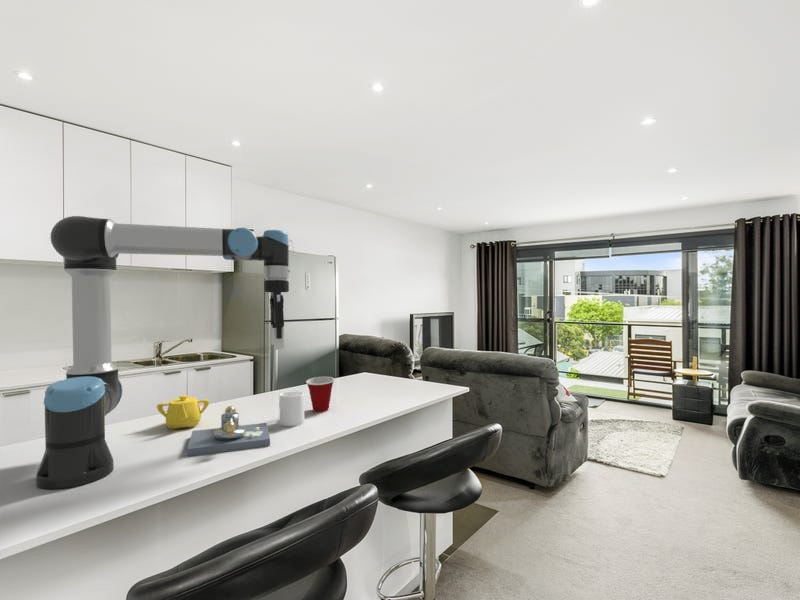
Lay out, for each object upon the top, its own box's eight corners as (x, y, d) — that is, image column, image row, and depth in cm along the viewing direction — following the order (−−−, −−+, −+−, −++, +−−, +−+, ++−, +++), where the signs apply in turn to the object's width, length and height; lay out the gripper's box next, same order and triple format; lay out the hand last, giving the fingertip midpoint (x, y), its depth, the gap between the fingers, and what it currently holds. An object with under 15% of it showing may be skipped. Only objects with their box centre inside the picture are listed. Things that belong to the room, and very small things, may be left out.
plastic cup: (300, 411, 161) (299, 380, 161) (318, 405, 170) (318, 375, 170) (322, 415, 156) (322, 383, 156) (340, 408, 165) (340, 377, 165)
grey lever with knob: (215, 425, 136) (215, 406, 136) (245, 422, 140) (245, 403, 140) (212, 447, 117) (211, 425, 117) (246, 443, 120) (246, 421, 120)
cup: (288, 428, 141) (287, 398, 141) (269, 421, 149) (269, 392, 149) (309, 422, 147) (308, 393, 147) (290, 416, 155) (289, 388, 155)
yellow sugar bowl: (214, 423, 147) (214, 393, 147) (180, 434, 136) (180, 402, 136) (187, 418, 153) (187, 390, 153) (153, 428, 142) (153, 397, 142)
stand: (186, 456, 117) (186, 444, 117) (192, 437, 133) (192, 427, 133) (270, 445, 125) (269, 434, 125) (266, 428, 141) (266, 419, 141)
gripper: (293, 278, 124) (293, 350, 124) (284, 281, 147) (285, 342, 147) (266, 278, 121) (267, 352, 121) (262, 281, 144) (262, 343, 145)
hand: (277, 347), depth 134 cm, fingers open, 13 cm apart
